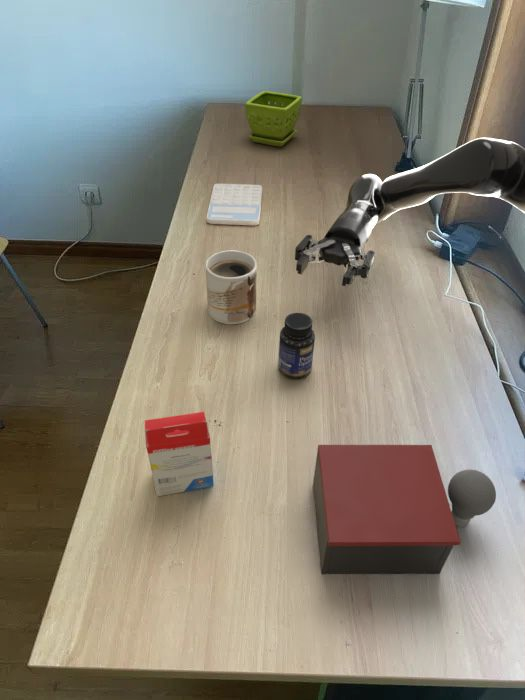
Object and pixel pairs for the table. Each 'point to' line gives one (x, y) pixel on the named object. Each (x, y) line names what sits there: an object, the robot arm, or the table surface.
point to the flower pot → (272, 117)
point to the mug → (231, 286)
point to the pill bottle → (296, 346)
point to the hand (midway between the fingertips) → (321, 276)
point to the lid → (384, 496)
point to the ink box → (179, 453)
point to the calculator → (235, 204)
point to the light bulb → (470, 495)
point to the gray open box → (372, 550)
